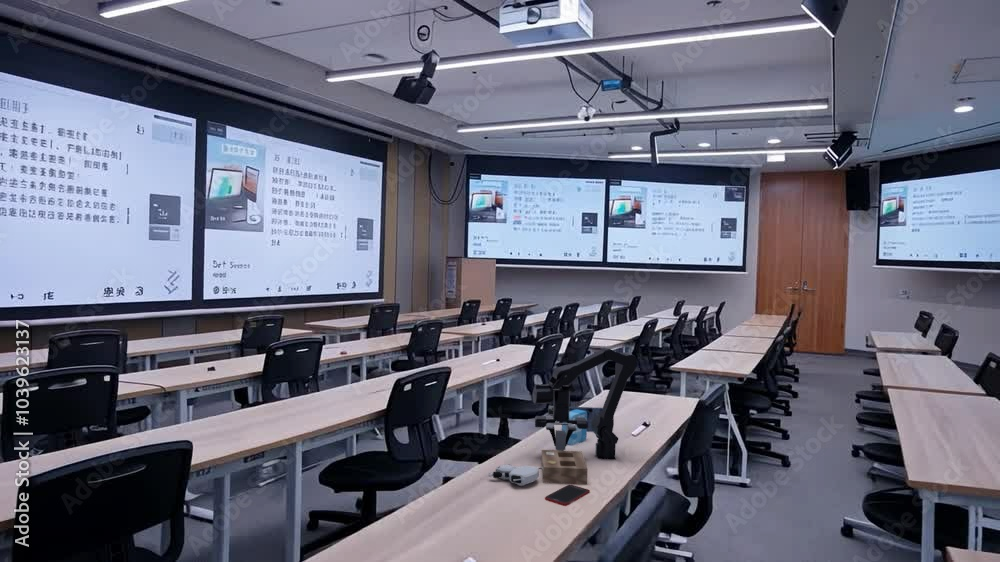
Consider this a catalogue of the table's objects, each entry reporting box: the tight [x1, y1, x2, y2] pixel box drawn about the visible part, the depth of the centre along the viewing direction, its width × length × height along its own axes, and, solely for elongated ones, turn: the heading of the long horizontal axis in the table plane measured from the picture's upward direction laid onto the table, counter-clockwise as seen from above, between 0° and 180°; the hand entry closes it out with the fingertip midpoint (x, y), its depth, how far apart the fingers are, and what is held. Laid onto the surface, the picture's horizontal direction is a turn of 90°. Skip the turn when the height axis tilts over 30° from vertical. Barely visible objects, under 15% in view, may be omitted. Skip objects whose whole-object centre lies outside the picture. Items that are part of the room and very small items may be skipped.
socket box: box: [540, 449, 588, 485], centre depth 200 cm, size 14×18×5 cm
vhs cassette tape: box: [569, 406, 603, 433], centre depth 253 cm, size 18×3×10 cm, turn 88°
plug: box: [554, 429, 566, 451], centre depth 215 cm, size 3×3×8 cm
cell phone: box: [544, 484, 591, 507], centre depth 181 cm, size 8×15×1 cm, turn 142°
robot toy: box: [487, 464, 543, 487], centre depth 193 cm, size 12×4×15 cm
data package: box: [561, 409, 587, 446], centre depth 237 cm, size 12×4×12 cm, turn 142°
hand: (560, 446), depth 215 cm, fingers closed on plug, 3 cm apart
